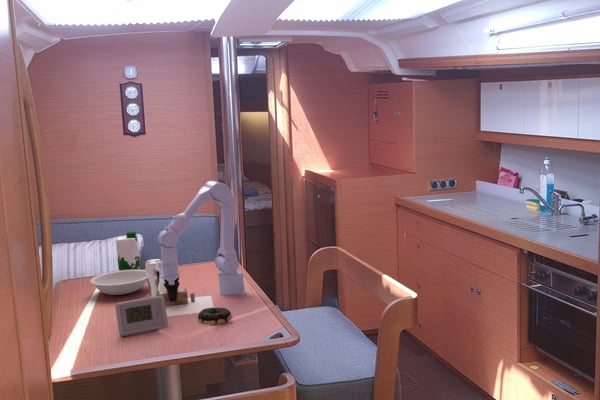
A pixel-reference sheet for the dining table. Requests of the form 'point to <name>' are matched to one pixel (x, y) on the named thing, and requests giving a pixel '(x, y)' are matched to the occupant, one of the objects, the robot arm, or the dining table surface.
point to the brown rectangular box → (181, 297)
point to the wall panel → (190, 306)
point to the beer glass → (154, 276)
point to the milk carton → (128, 252)
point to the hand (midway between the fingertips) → (173, 299)
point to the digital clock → (141, 315)
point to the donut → (214, 316)
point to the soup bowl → (120, 281)
